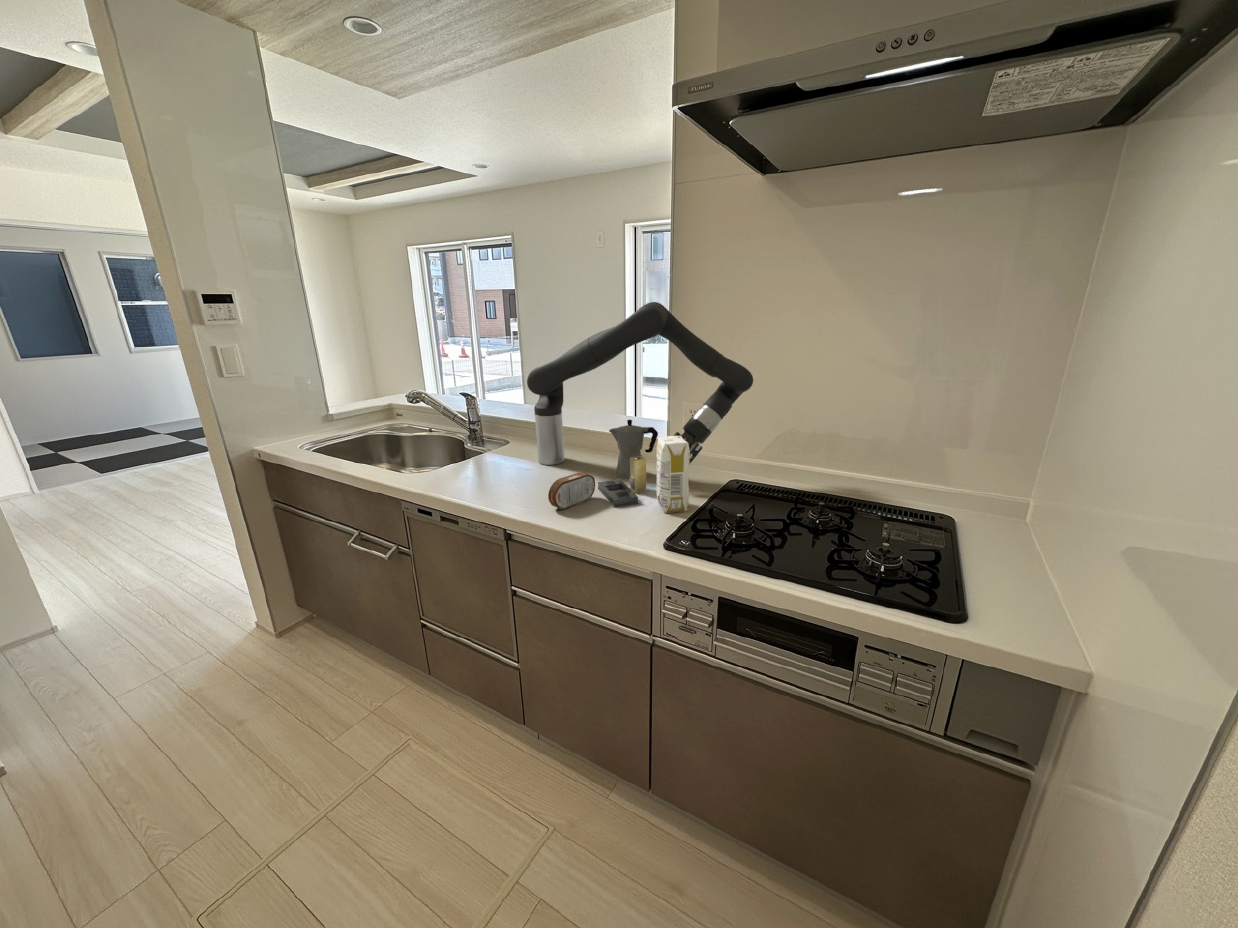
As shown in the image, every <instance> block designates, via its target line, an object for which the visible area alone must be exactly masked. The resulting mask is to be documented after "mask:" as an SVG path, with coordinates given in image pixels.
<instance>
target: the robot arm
mask: <svg viewBox="0 0 1238 928" xmlns="http://www.w3.org/2000/svg"><path fill="white" fill-rule="evenodd" d="M657 336H660V337H662V338H664V339H666V340H667V341H669V342H670V343H672V344H673V345H674V346H675V347H676V348H677V349H678V350H679V351H680V353H682V354H683V355H684V357H685V358H686V360H687V359H688V361H690V363H692V365H693V366H695V367H696V368H698V369H699V370H701V371H702V372H704V373H705V374H706V375H707V376H710V377H712V378H717V379H718V380H720V381H721V383H720V384H719V385H718V387H717V389H716V390H715V391H714V392H713V394H711V395H710V396H709V397H708V398H707V400H706V401H705V402H704V403H703V405H702V406H700V408H698V409H697V410H696V411H695V412H694V414H693V415H692V416H691V418H690V419H689V420H688V421H687V422H686V423H685V424H684V426H683V428H682V429H683V431H684V432H683V433H682V434H681V433H680V432H679V431H676V432H675V433H674V434H673V436H681V437H682V438H683V440H685V441H687V442H688V444H689V450H690V464H692V462H693V461H694V460H695V458H696V457H697V456H698V455H699V453H700V452H701V451H702V449H703V446H702V444H704V443H705V442H706V440H708V438H709V436H711V434H712V433H713V432H714V431H715V430H716V429H717V427H718V426H719V425H720V423H721V422H722V420H723V419H724V418H725V416H726V415H727V414H728V413H729V412H730V411H731V409H732V408H733V404H734V403H735V402H736V401H737V400H738V399H739V398H740V397H741V395H742V394H744V393H745V392H747V391H749V390H750V389H751V388H752V386H753V383H754V377H753V374H752V372H751V371H750V370H749V369H748V368H747V367H745V366H743V364H740V363H738V362H736V361H734V360H732V359H729V358H728V357H725V356H724V354H722V353H720V352H719V351H718V350H717V349H715V348H714V347H712V346H711V345H709V344H708V343H707V342H705V341H704V340H702V339H701V338H700V337H698V336H697V335H696V334H694V333H693V332H692V331H691V330H689V328H687V327H686V326H685V325H684V324H683V323H682V322H680V321H679V319H677V318H676V317H675V316H674V315H673V314H672V313H671V312H670V310H669V309H667V308H666V306H665V305H663V304H662V303H660V302H658V301H651V302H648V303H646V304H644V305H642V306H641V307H639V308H637V310H636V311H635V312H634V313H632V314H631V315H630V316H628V317H627V318H625V319H624V320H622V321H621V322H620V323H618V324H617V325H614V326H612V327H610V328H607V329H605V330H602V331H599V332H597V333H595V334H593V335H590V337H588V338H586V339H584V340H582V341H581V342H579V343H578V344H576V345H575V346H573V347H572V348H570V349H568V350H567V351H566V352H565V353H564V354H562V355H561V356H558V357H557V358H555V359H553V360H552V361H549V362H547V363H545V364H543V365H540V366H537V367H535V368H533V369H532V370H531V371H530V373H529V374H528V375H527V378H526V385H527V388H528V390H529V391H530V392H531V393H533V394H535V395H538V396H539V398H538V401H537V402H536V404H535V405H534V407H533V408H534V421H535V422H534V423H535V433H536V435H535V436H536V444H537V447H536V448H537V459H538V461H537V462H538V463H539V464H541V465H546V466H549V465H550V466H551V465H559V464H562V463H563V462H565V442H564V440H565V439H564V428H563V413H562V408H563V405H564V382H565V381H568V380H569V379H572V378H575V377H578V376H580V375H584V374H586V373H588V372H591V371H593V370H595V369H597V368H599V367H601V366H603V365H604V364H607V363H608V362H610V361H611V360H613V359H614V358H616V357H618V356H619V355H620V354H621V353H623V352H624V351H625V350H627V349H629V348H631V347H633V346H634V345H637V344H639V343H642V342H644V341H647V340H650V339H652V338H655V337H657Z"/></svg>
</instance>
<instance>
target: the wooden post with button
mask: <svg viewBox="0 0 1238 928" xmlns="http://www.w3.org/2000/svg"><path fill="white" fill-rule="evenodd" d="M629 485H630V487H629V488H630V489H631V490H632V491H633V492H634V493H635V494H640V493H641V494H642V493H646V492H647V459H646V458H645V457H644V456H636V457H630V479H629Z"/></svg>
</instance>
